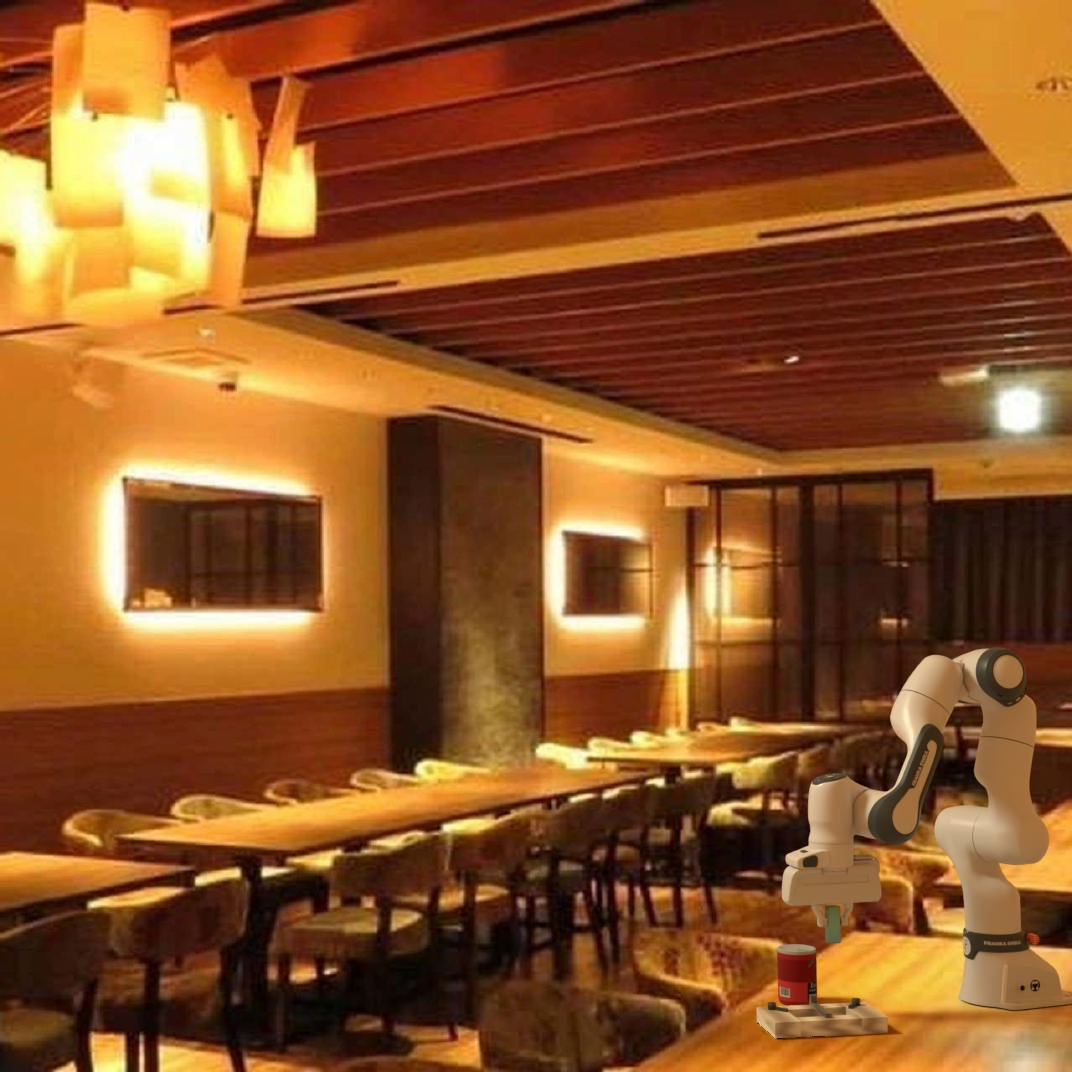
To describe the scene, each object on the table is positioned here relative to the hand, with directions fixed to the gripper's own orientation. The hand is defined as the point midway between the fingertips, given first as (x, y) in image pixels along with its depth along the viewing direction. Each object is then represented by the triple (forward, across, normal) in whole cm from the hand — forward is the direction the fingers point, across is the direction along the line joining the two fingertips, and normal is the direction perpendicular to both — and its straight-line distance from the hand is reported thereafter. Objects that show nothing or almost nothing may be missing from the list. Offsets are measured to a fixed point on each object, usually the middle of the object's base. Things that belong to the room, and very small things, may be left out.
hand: (832, 926), depth 311 cm
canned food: (+17, +3, -11) cm, 21 cm away
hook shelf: (+17, +7, +9) cm, 21 cm away
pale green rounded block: (+3, 0, 0) cm, 3 cm away
